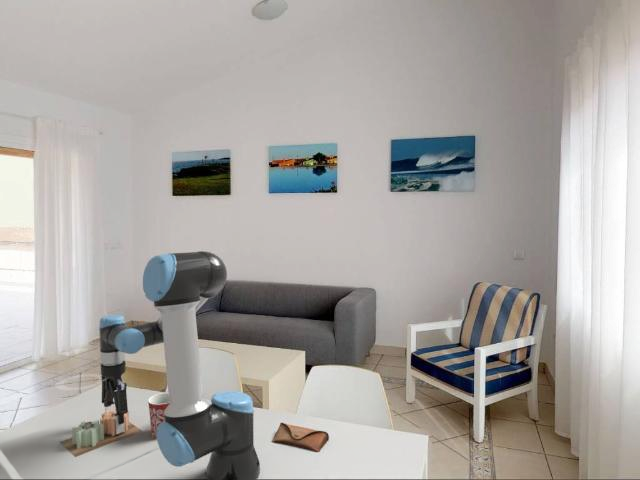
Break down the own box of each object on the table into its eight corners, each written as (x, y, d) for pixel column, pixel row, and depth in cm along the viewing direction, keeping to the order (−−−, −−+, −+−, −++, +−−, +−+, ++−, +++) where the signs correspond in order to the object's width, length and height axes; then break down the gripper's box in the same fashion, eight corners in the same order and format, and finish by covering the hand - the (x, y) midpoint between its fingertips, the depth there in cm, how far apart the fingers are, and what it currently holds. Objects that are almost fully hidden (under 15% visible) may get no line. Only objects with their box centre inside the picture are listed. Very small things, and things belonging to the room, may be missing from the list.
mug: (166, 446, 140) (166, 405, 140) (143, 442, 143) (142, 402, 142) (188, 427, 153) (188, 390, 152) (166, 424, 155) (165, 387, 154)
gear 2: (134, 424, 150) (134, 410, 150) (118, 436, 142) (118, 421, 142) (111, 422, 152) (110, 408, 152) (94, 434, 144) (94, 419, 144)
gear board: (142, 435, 148) (141, 413, 147) (75, 461, 132) (74, 437, 131) (124, 422, 156) (124, 402, 156) (60, 446, 140) (59, 423, 140)
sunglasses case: (269, 442, 143) (273, 420, 146) (277, 443, 149) (281, 422, 152) (320, 452, 137) (324, 430, 139) (326, 454, 142) (330, 432, 145)
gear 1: (107, 441, 141) (107, 425, 140) (80, 451, 135) (79, 435, 134) (96, 431, 147) (95, 417, 146) (69, 441, 140) (68, 426, 140)
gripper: (138, 365, 142) (140, 434, 143) (111, 352, 155) (113, 415, 156) (115, 372, 136) (117, 443, 138) (89, 358, 149) (91, 423, 151)
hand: (115, 428), depth 147 cm, fingers closed on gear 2, 7 cm apart
